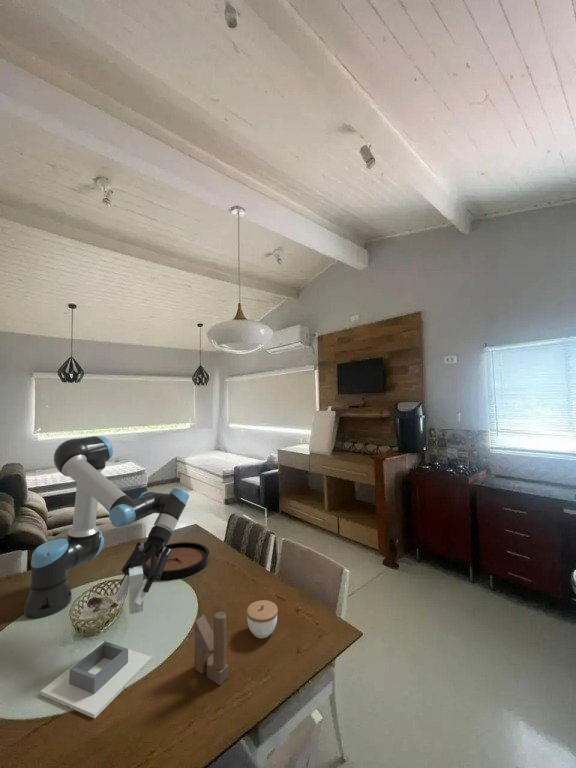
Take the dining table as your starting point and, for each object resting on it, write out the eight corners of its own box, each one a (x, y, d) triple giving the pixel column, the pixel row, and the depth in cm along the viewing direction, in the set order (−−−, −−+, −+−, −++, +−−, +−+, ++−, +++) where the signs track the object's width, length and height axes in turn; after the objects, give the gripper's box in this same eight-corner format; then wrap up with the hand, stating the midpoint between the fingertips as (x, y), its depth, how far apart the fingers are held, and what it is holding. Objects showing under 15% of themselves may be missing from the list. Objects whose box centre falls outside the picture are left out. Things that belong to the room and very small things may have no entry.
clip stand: (40, 694, 91) (41, 675, 91) (103, 644, 110) (103, 628, 110) (94, 718, 84) (95, 698, 84) (151, 660, 103) (152, 643, 103)
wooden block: (203, 661, 102) (203, 601, 103) (228, 677, 96) (229, 613, 97) (193, 669, 99) (194, 607, 100) (219, 686, 93) (220, 620, 94)
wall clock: (217, 543, 178) (194, 574, 147) (217, 551, 177) (194, 583, 146) (162, 540, 181) (128, 569, 150) (162, 548, 181) (127, 579, 150)
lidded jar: (273, 645, 109) (273, 616, 109) (242, 640, 111) (242, 612, 111) (280, 624, 119) (280, 597, 120) (252, 620, 121) (252, 593, 122)
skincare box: (143, 611, 107) (144, 573, 107) (128, 615, 105) (129, 576, 105) (142, 600, 113) (143, 564, 113) (128, 604, 111) (128, 567, 111)
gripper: (190, 537, 121) (158, 610, 105) (146, 530, 127) (110, 598, 111) (181, 528, 116) (146, 603, 100) (135, 521, 122) (96, 591, 106)
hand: (127, 600), depth 106 cm, fingers closed on skincare box, 7 cm apart
